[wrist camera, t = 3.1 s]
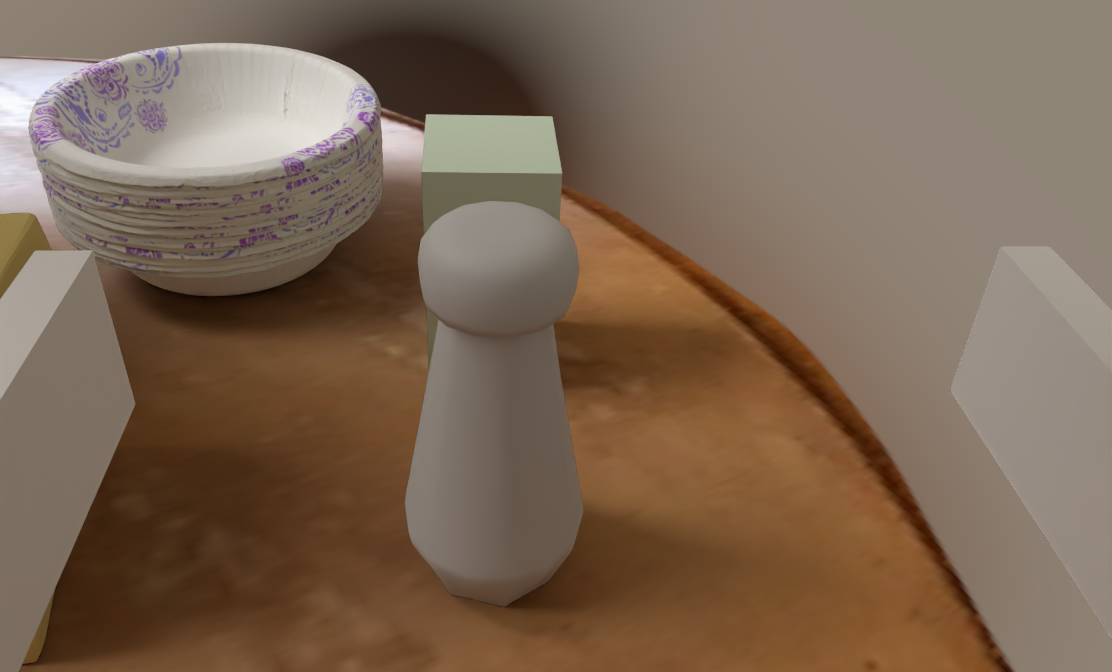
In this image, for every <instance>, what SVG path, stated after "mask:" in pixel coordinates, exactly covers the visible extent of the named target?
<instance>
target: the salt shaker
mask: <svg viewBox="0 0 1112 672" xmlns="http://www.w3.org/2000/svg"><path fill="white" fill-rule="evenodd" d="M418 269H419V278H420V284H421V289H422V294H423V299H424V302H425V304H426V306H427V308H428V310H429V311H430V312H431V313H432V314H433V315H435V316H436V317H437V318H438V319H439V321H438V326H437V332H436V337H435V342H434V348H433V353H432V358H431V364H430V369H429V374H428V380H427V385H426V390H425V396H424V401H423V406H422V412H421V417H420V422H419V428H418V433H417V438H416V444H415V449H414V454H413V460H412V465H411V470H410V476H409V481H408V486H407V492H406V497H405V509H406V517H407V524H408V532H409V536H410V539H411V543H412V544H413V546H414V547H415V548H416V549H417V550H418V552H419V553H420V554H421V555H422V557H423V558H424V559H425V560H426V562H427V563H428V564H429V565H430V566H431V568H432V569H433V570H434V572H435V573H436V575H437V576H438V577H439V579H440V580H441V581H442V583H443V584H444V586H445V587H446V588H447V590H448V591H449V593H450V594H451V595H455V596H459V597H463V598H468V599H472V600H476V601H480V602H485V603H489V604H493V605H497V606H502V607H505V606H507V605H508V604H510V603H512V602H514V601H515V600H517V599H519V598H521V597H522V596H524V595H526V594H527V593H529V592H531V591H533V590H534V589H536V588H538V587H539V586H541V585H543V584H545V583H546V582H548V581H549V580H550V579H551V577H552V576H553V575H554V573H555V572H556V571H557V570H558V568H559V567H560V566H561V564H562V563H563V562H564V561H565V559H566V558H567V557H568V555H569V554H570V553H571V551H572V550H573V546H574V543H575V540H576V536H577V533H578V529H579V526H580V523H581V519H582V516H583V512H584V508H583V502H582V496H581V491H580V485H579V479H578V473H577V467H576V462H575V456H574V450H573V444H572V439H571V433H570V427H569V421H568V416H567V410H566V404H565V398H564V393H563V387H562V381H561V375H560V368H559V360H558V353H557V346H556V339H555V332H554V325H553V323H555V322H557V321H558V320H560V319H561V318H563V317H564V316H565V314H566V312H567V310H568V308H569V306H570V303H571V301H572V298H573V296H574V293H575V291H576V288H577V280H578V273H579V263H578V255H577V247H576V245H575V242H574V240H573V238H572V235H571V233H570V230H569V229H568V228H567V227H565V226H564V225H563V224H562V223H561V222H560V221H558V220H557V219H555V218H554V217H552V216H551V215H549V214H548V213H546V212H545V211H543V210H542V209H539V208H535V207H532V206H528V205H525V204H522V203H518V202H502V201H486V202H480V203H474V204H468V205H463V206H461V207H459V208H457V209H455V210H453V211H451V212H449V213H447V214H445V215H443V216H442V217H440V218H439V219H438V220H437V221H435V222H434V223H433V224H432V225H431V227H430V228H429V229H428V231H427V232H426V233H425V235H424V236H423V237H422V239H421V242H420V248H419V254H418Z"/></svg>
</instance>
